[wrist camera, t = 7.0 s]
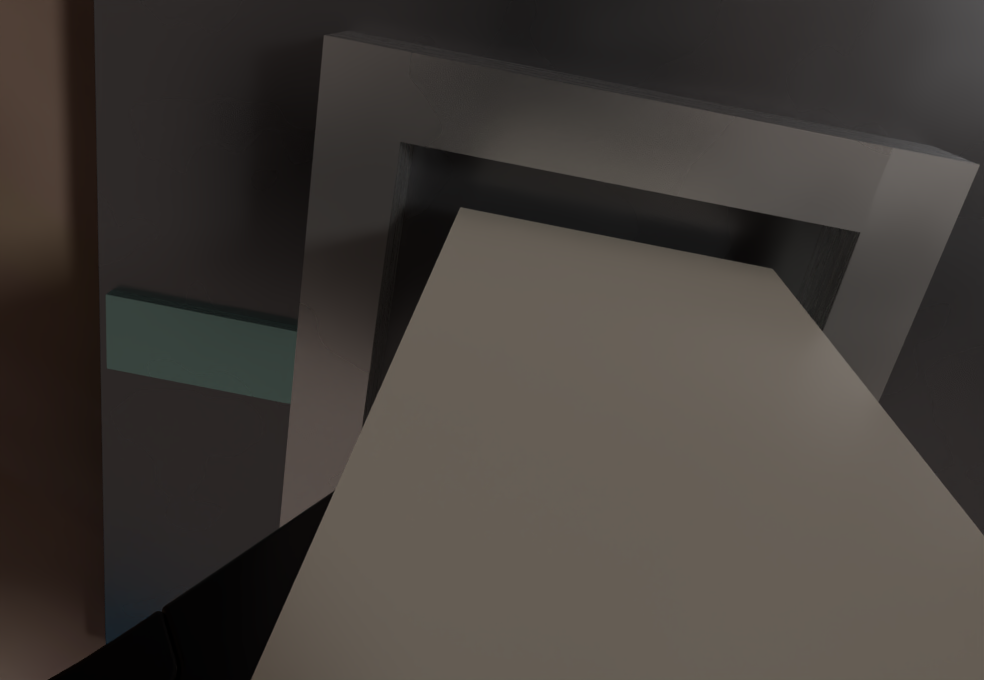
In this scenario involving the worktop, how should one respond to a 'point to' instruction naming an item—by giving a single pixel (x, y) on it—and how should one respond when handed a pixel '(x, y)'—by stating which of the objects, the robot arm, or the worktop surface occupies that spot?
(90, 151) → the worktop surface
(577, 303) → the plug
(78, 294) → the worktop surface
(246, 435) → the patch board
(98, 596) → the worktop surface
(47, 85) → the worktop surface
